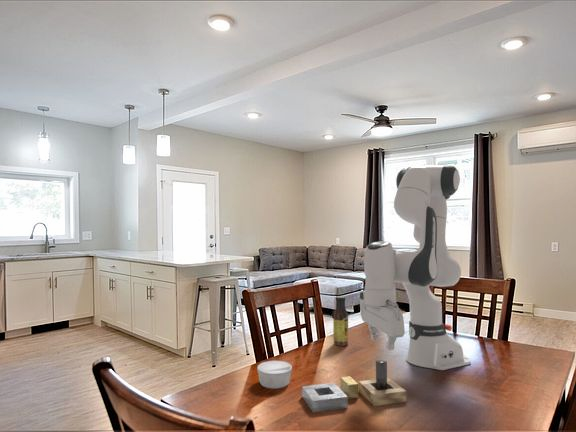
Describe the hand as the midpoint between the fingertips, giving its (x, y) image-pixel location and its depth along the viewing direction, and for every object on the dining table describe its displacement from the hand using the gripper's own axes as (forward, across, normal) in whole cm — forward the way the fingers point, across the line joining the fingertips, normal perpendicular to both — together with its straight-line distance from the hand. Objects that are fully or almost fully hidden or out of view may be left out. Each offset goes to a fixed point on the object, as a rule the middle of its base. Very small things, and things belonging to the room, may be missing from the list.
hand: (382, 344), depth 115 cm
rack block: (+15, -1, +1) cm, 15 cm away
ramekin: (+15, +17, +29) cm, 37 cm away
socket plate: (+14, 0, +18) cm, 23 cm away
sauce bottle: (+16, +49, -7) cm, 52 cm away
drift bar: (+15, +3, +10) cm, 18 cm away
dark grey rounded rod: (+15, 0, +1) cm, 15 cm away
